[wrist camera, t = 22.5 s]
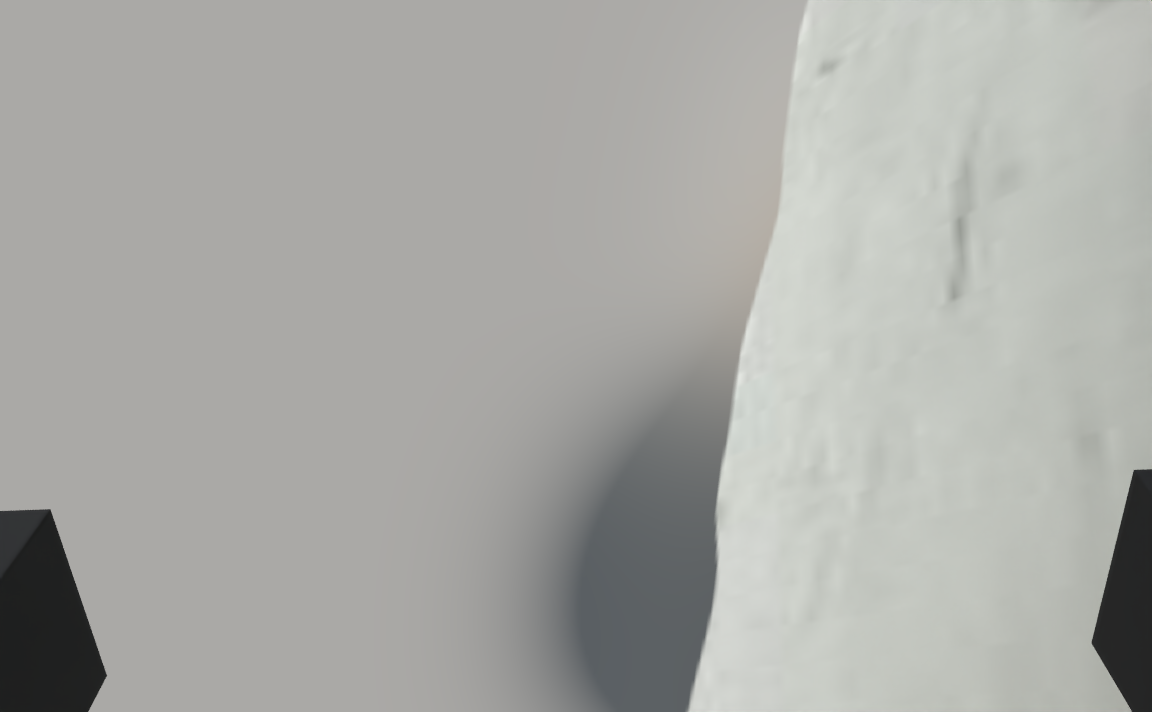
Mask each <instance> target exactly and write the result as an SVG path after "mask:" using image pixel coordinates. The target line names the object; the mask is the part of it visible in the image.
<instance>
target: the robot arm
mask: <svg viewBox="0 0 1152 712" xmlns="http://www.w3.org/2000/svg"><path fill="white" fill-rule="evenodd" d="M1092 645H1093V646H1094V648H1095V650H1096V651H1097V653H1098V655H1099V656H1100V658H1101V660H1102V662H1103V663H1104V665H1105V667H1106V668H1107V670H1108V672H1109V673H1110V675H1111V677H1112V678H1113V680H1114V682H1115V683H1116V685H1117V687H1118V688H1119V690H1120V692H1121V693H1122V695H1123V697H1124V699H1125V700H1126V702H1127V704H1128V705H1129V707H1130V709H1131V710H1132V712H1152V469H1149V470H1134V472H1133V476H1132V480H1131V484H1130V488H1129V492H1128V496H1127V500H1126V504H1125V508H1124V513H1123V517H1122V521H1121V525H1120V529H1119V533H1118V537H1117V541H1116V545H1115V549H1114V553H1113V557H1112V561H1111V566H1110V570H1109V574H1108V578H1107V582H1106V586H1105V590H1104V594H1103V598H1102V602H1101V606H1100V610H1099V614H1098V619H1097V623H1096V627H1095V631H1094V635H1093V639H1092ZM106 676H107V675H106V672H105V669H104V666H103V663H102V660H101V657H100V654H99V651H98V648H97V646H96V643H95V639H94V636H93V634H92V630H91V628H90V625H89V622H88V619H87V616H86V613H85V610H84V607H83V604H82V601H81V598H80V595H79V592H78V590H77V587H76V583H75V581H74V578H73V575H72V572H71V569H70V566H69V563H68V560H67V557H66V554H65V551H64V548H63V545H62V542H61V539H60V536H59V534H58V531H57V528H56V525H55V522H54V519H53V516H52V513H51V510H50V509H48V510H20V511H0V712H88V711H89V709H90V707H91V705H92V703H93V701H94V699H95V697H96V696H97V694H98V691H99V690H100V688H101V686H102V684H103V682H104V680H105V678H106Z"/></svg>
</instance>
